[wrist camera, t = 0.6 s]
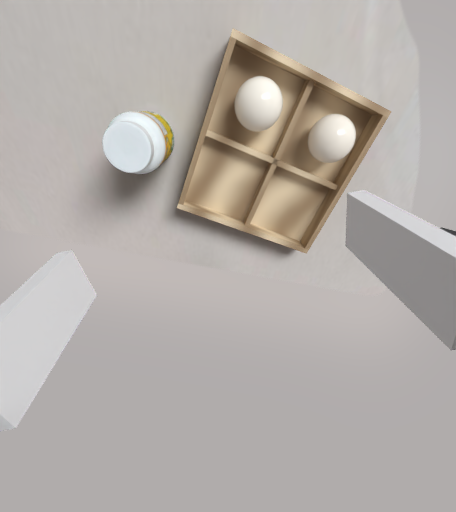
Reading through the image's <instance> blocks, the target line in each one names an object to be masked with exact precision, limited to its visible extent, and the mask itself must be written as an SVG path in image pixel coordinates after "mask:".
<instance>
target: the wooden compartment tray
mask: <svg viewBox="0 0 456 512" xmlns="http://www.w3.org/2000/svg"><path fill="white" fill-rule="evenodd" d="M256 76H264V77H267V78H270V79H271V80H273V81H274V82H275V83H276V84H277V85H278V87H279V89H280V91H281V93H282V97H283V107H282V112H281V114H280V116H279V118H278V120H277V121H276V123H275V124H274V125H273V126H272V127H270V128H269V129H267V130H264V131H260V132H254V131H250V130H248V129H246V128H245V127H243V126H242V125H241V123H240V122H239V121H238V119H237V117H236V113H235V107H234V105H235V97H236V94H237V92H238V90H239V88H240V87H241V85H242V84H243V83H244V82H246V81H247V80H248V79H250V78H253V77H256ZM390 113H391V111H389V110H387V109H385V108H384V107H382V106H380V105H378V104H376V103H374V102H372V101H370V100H368V99H366V98H365V97H363V96H361V95H359V94H357V93H355V92H353V91H351V90H349V89H347V88H346V87H344V86H342V85H340V84H338V83H336V82H334V81H332V80H330V79H328V78H327V77H325V76H323V75H321V74H319V73H317V72H315V71H313V70H311V69H309V68H308V67H306V66H304V65H302V64H300V63H298V62H296V61H294V60H292V59H290V58H289V57H287V56H285V55H283V54H281V53H279V52H277V51H275V50H273V49H271V48H270V47H268V46H266V45H264V44H262V43H260V42H258V41H256V40H254V39H252V38H251V37H249V36H247V35H245V34H243V33H241V32H239V31H237V30H235V29H233V30H232V33H231V36H230V39H229V42H228V46H227V49H226V52H225V55H224V58H223V62H222V65H221V68H220V71H219V74H218V78H217V81H216V84H215V87H214V90H213V94H212V97H211V100H210V103H209V107H208V110H207V113H206V116H205V119H204V123H203V126H202V129H201V132H200V135H199V139H198V142H197V145H196V148H195V151H194V155H193V158H192V161H191V164H190V167H189V171H188V174H187V177H186V180H185V183H184V187H183V190H182V193H181V196H180V199H179V203H178V206H177V208H178V209H181V210H184V211H187V212H189V213H192V214H195V215H198V216H201V217H204V218H206V219H209V220H212V221H215V222H218V223H221V224H224V225H226V226H229V227H232V228H235V229H238V230H241V231H244V232H246V233H249V234H252V235H255V236H258V237H261V238H264V239H266V240H269V241H272V242H275V243H278V244H281V245H284V246H286V247H289V248H292V249H295V250H298V251H301V252H304V253H306V254H307V252H308V250H309V249H310V247H311V245H312V244H313V242H314V240H315V239H316V237H317V235H318V234H319V232H320V230H321V229H322V227H323V225H324V223H325V222H326V220H327V218H328V217H329V215H330V213H331V212H332V210H333V208H334V207H335V205H336V203H337V202H338V200H339V198H340V197H341V195H342V193H343V192H344V190H345V188H346V187H347V185H348V183H349V182H350V180H351V178H352V177H353V175H354V173H355V172H356V170H357V168H358V167H359V165H360V163H361V162H362V160H363V158H364V157H365V155H366V153H367V152H368V150H369V148H370V147H371V145H372V143H373V142H374V140H375V138H376V137H377V135H378V133H379V132H380V130H381V128H382V127H383V125H384V123H385V122H386V120H387V118H388V116H389V115H390ZM330 114H341V115H344V116H346V117H347V118H349V119H350V120H351V121H352V123H353V125H354V127H355V130H356V139H355V143H354V146H353V148H352V149H351V151H350V152H349V153H348V154H347V155H346V156H345V157H344V158H343V159H341V160H339V161H337V162H333V163H324V162H320V161H318V160H316V159H315V158H314V157H313V156H312V155H311V153H310V151H309V148H308V136H309V133H310V130H311V128H312V127H313V125H314V124H315V123H316V122H317V121H318V120H319V119H321V118H322V117H324V116H326V115H330Z"/></svg>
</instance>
